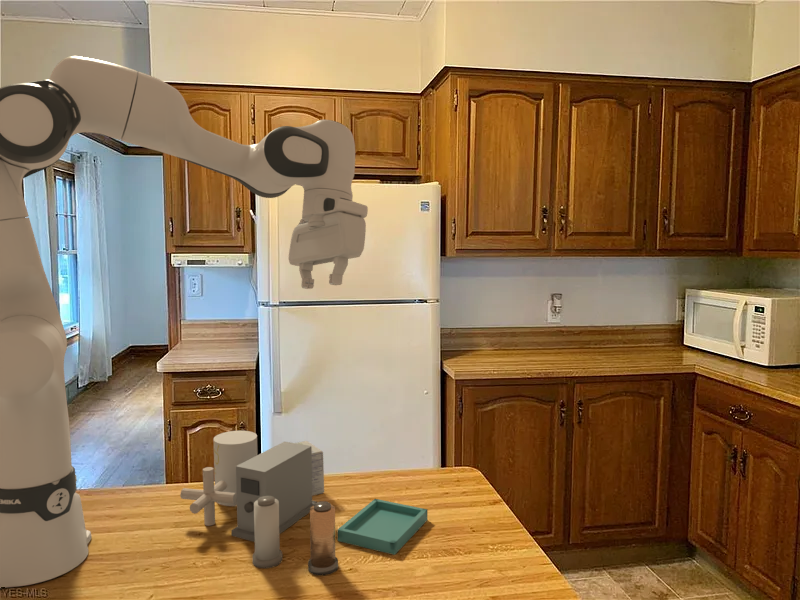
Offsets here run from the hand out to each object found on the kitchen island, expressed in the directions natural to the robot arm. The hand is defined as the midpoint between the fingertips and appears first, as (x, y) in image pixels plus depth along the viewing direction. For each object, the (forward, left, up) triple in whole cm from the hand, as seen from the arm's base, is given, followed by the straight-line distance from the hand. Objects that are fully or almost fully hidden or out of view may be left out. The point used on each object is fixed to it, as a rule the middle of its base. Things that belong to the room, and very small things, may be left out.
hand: (320, 286), depth 114 cm
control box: (-5, -7, -42) cm, 43 cm away
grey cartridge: (+2, -19, -42) cm, 46 cm away
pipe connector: (-15, -13, -42) cm, 46 cm away
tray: (+14, -2, -42) cm, 44 cm away
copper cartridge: (+11, -17, -42) cm, 46 cm away
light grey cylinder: (-18, -2, -42) cm, 46 cm away
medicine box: (-8, +7, -42) cm, 43 cm away
